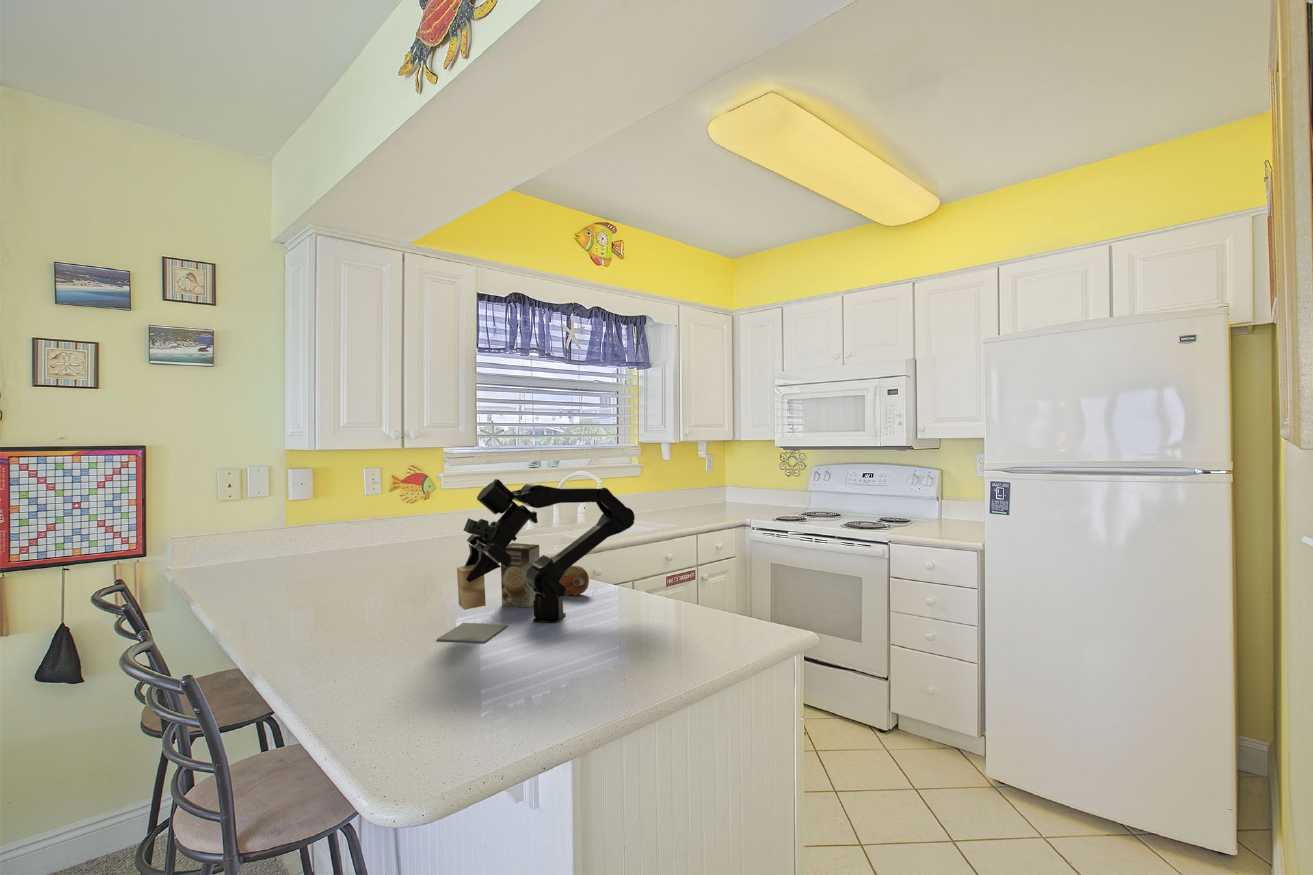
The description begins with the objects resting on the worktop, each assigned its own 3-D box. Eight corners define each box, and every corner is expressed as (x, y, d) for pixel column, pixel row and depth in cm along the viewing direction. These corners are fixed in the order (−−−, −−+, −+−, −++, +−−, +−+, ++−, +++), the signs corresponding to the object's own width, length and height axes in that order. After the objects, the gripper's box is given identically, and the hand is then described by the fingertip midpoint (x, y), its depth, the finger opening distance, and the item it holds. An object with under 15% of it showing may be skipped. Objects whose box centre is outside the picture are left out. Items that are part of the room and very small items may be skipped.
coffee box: (500, 605, 174) (498, 547, 174) (513, 599, 180) (511, 542, 180) (530, 607, 171) (528, 548, 171) (542, 601, 177) (540, 543, 177)
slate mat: (508, 626, 156) (508, 624, 156) (484, 642, 144) (484, 641, 144) (463, 624, 159) (463, 622, 159) (436, 640, 147) (436, 638, 147)
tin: (539, 593, 186) (538, 564, 186) (545, 590, 189) (544, 562, 188) (585, 597, 180) (584, 567, 180) (590, 594, 183) (590, 565, 183)
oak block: (479, 600, 155) (477, 564, 154) (485, 605, 150) (483, 567, 150) (458, 604, 152) (456, 567, 152) (464, 609, 148) (462, 571, 147)
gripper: (473, 501, 160) (430, 551, 155) (495, 509, 144) (448, 565, 139) (505, 529, 165) (464, 578, 159) (530, 539, 149) (485, 594, 143)
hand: (464, 578), depth 150 cm, fingers closed on oak block, 5 cm apart
